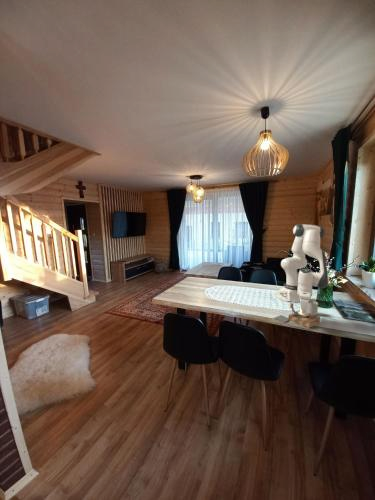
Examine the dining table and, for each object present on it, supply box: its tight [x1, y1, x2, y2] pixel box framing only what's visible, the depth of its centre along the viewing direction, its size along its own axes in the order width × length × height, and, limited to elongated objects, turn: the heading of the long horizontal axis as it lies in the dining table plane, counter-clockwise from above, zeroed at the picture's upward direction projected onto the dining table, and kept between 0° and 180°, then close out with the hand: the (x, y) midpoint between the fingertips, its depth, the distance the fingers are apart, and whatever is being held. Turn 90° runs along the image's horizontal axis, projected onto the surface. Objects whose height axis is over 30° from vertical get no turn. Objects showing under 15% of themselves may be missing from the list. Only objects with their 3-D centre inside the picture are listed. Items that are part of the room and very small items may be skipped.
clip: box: [289, 302, 297, 315], centre depth 145 cm, size 15×3×3 cm, turn 161°
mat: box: [273, 315, 291, 324], centre depth 144 cm, size 8×8×1 cm
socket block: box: [287, 310, 321, 329], centre depth 140 cm, size 14×14×5 cm
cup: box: [307, 300, 319, 316], centre depth 153 cm, size 7×10×9 cm
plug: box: [298, 306, 309, 318], centre depth 140 cm, size 6×6×9 cm
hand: (303, 311), depth 140 cm, fingers closed on plug, 4 cm apart
